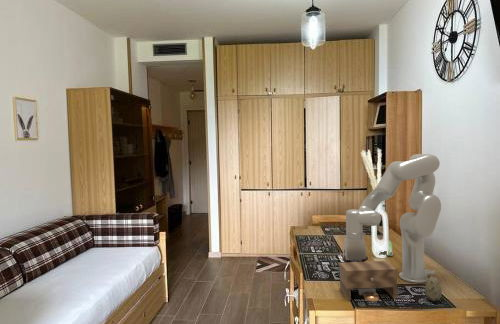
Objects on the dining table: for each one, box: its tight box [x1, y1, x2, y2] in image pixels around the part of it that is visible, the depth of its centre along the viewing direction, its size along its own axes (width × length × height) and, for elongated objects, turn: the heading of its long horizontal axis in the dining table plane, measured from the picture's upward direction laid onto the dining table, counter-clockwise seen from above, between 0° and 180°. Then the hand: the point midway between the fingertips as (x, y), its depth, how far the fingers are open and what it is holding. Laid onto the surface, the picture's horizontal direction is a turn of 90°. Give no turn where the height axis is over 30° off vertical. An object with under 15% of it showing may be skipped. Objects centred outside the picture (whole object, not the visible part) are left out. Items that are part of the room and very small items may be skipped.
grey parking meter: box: [353, 260, 377, 296], centre depth 146 cm, size 7×19×12 cm, turn 0°
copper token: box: [363, 292, 380, 303], centre depth 134 cm, size 6×6×2 cm
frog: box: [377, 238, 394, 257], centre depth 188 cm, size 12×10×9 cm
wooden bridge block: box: [339, 260, 398, 301], centre depth 137 cm, size 21×11×12 cm, turn 91°
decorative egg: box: [424, 276, 443, 302], centre depth 130 cm, size 6×6×10 cm
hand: (355, 272), depth 152 cm, fingers closed on grey parking meter
